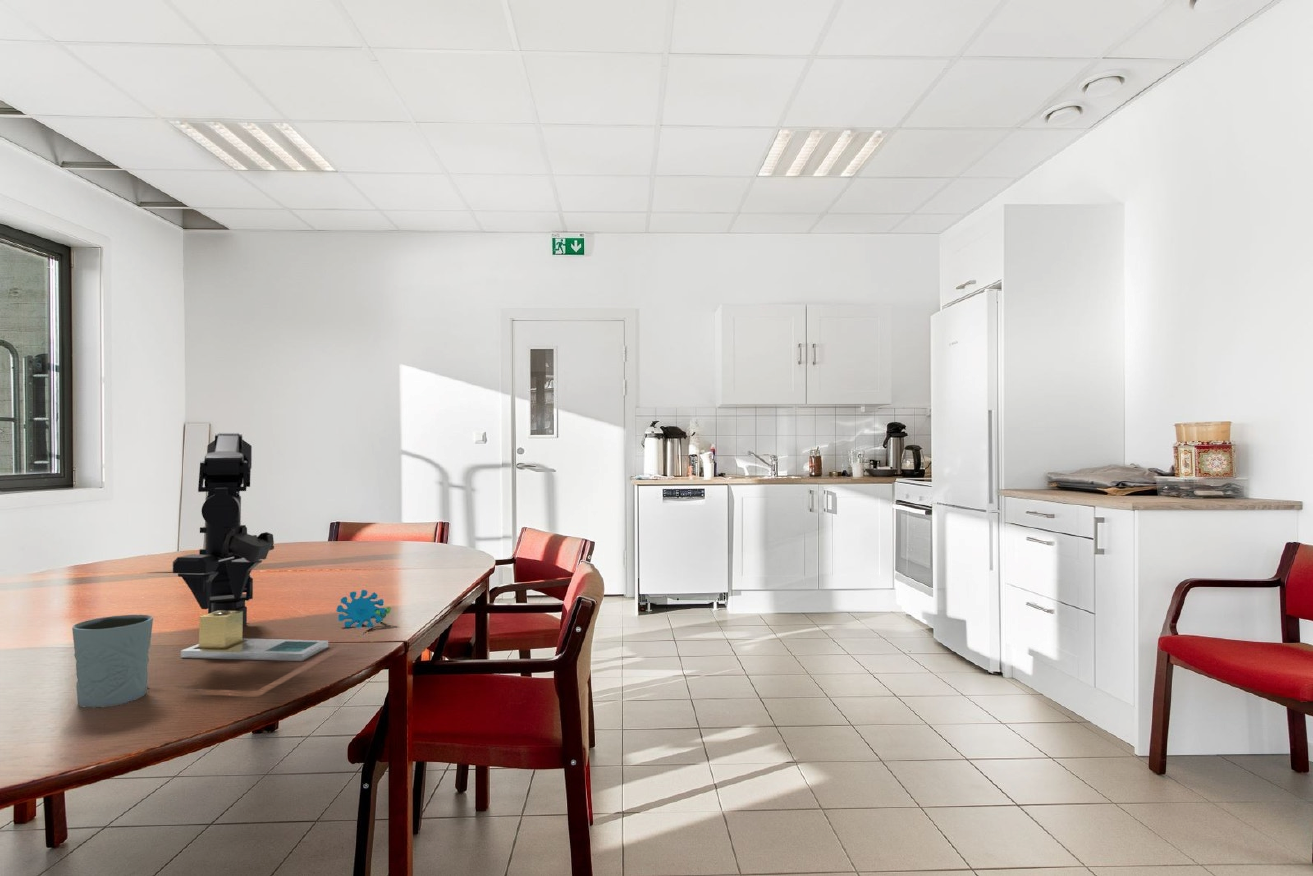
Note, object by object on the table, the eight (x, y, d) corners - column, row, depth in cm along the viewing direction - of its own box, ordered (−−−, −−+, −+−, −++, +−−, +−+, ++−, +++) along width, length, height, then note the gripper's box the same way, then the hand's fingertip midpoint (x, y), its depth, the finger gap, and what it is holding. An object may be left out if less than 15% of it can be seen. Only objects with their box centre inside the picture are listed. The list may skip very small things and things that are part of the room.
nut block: (198, 654, 132) (199, 615, 132) (217, 646, 137) (217, 609, 137) (224, 655, 131) (225, 616, 131) (242, 647, 136) (242, 610, 136)
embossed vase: (86, 714, 104) (88, 632, 104) (59, 701, 110) (60, 623, 110) (163, 694, 113) (165, 618, 113) (134, 683, 118) (136, 610, 118)
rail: (180, 661, 130) (180, 650, 130) (214, 647, 139) (214, 637, 139) (301, 665, 128) (302, 654, 128) (328, 651, 137) (328, 640, 137)
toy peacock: (332, 626, 150) (340, 586, 157) (331, 640, 154) (339, 601, 161) (388, 629, 154) (393, 590, 161) (385, 643, 157) (390, 605, 164)
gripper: (231, 527, 125) (229, 616, 124) (292, 516, 143) (291, 594, 143) (170, 526, 125) (169, 614, 125) (239, 516, 144) (238, 593, 144)
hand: (221, 603), depth 134 cm, fingers open, 9 cm apart
